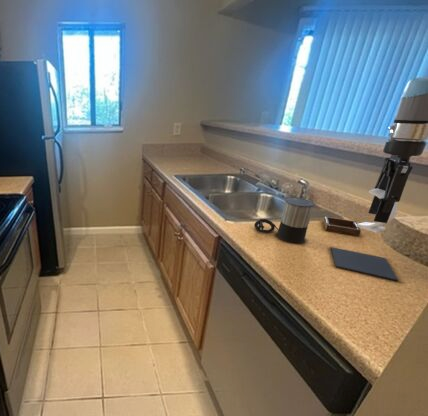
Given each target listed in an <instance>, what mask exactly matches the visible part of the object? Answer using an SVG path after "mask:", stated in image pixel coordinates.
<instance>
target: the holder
mask: <svg viewBox="0 0 428 416" xmlns="http://www.w3.org/2000/svg"><path fill="white" fill-rule="evenodd" d="M357 224H358V222H357V221H356V220H351V219H343V218H337V217H331V216H324V218H323V225H324V228H325V231H327V232H332V233H339V234H343V235H349V236H354V237H359V236H360V234H361V228H359V227H356V226H357Z"/></svg>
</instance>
